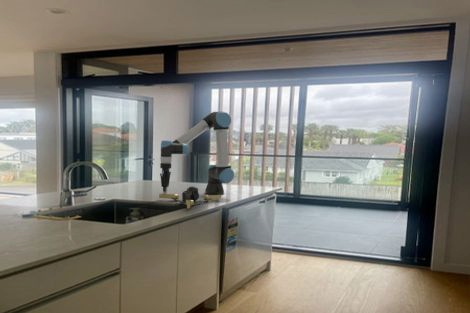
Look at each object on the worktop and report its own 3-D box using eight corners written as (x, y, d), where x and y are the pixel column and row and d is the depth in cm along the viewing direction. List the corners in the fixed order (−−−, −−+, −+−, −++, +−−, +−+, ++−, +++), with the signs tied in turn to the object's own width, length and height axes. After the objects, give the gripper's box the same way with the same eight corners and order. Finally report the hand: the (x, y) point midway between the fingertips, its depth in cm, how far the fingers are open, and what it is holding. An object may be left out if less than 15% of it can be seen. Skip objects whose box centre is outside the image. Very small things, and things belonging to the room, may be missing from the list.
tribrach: (190, 196, 270) (190, 190, 269) (221, 200, 258) (222, 194, 257) (153, 205, 232) (153, 198, 231) (188, 211, 220) (189, 203, 219)
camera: (195, 203, 237) (195, 188, 237) (180, 202, 239) (181, 187, 238) (200, 200, 250) (201, 185, 250) (186, 199, 252) (187, 184, 251)
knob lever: (179, 199, 252) (179, 194, 252) (177, 201, 247) (177, 195, 247) (160, 198, 253) (160, 192, 253) (158, 199, 248) (158, 194, 248)
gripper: (164, 161, 257) (163, 194, 259) (156, 163, 245) (155, 197, 247) (174, 162, 255) (173, 195, 257) (167, 163, 243) (165, 198, 245)
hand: (164, 196), depth 252 cm, fingers closed
